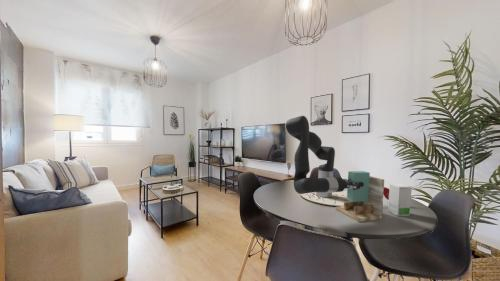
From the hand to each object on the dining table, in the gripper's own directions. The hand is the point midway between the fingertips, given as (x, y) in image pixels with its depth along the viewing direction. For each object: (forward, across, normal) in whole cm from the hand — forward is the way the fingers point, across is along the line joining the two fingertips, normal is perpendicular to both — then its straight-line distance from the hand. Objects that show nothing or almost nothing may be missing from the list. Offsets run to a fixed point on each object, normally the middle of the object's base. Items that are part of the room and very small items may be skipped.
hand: (359, 183), depth 108 cm
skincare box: (+23, -5, +17) cm, 29 cm away
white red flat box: (+35, +6, +16) cm, 39 cm away
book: (-1, 0, +9) cm, 9 cm away
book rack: (-1, 0, +16) cm, 17 cm away
